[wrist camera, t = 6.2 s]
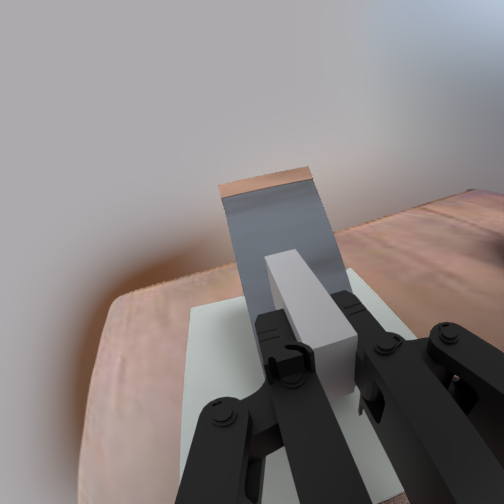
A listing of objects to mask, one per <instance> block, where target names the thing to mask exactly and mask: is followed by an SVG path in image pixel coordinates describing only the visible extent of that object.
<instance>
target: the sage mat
mask: <svg viewBox="0 0 504 504" xmlns="http://www.w3.org/2000/svg"><path fill="white" fill-rule="evenodd" d="M346 272H347V275H348V279H349V282H350V285H351V288H352V291H353V294H354V295H356V296H357V298H358V299H359V300H360V301H361V302H362V304H363V305H364V306H365V307H366V308H367V310H369V312H370V313H371V314H372V315H373V316H374V317H375V319H376V320H377V321H378V322H379V323H380V325H381V326H382V327H383V328H384V329H385V331H386V332H393V333H396V334H399V335H400V336H402V337H403V338H404V339H405V340H415V339H418V338H417V337H416V336H415V335H414V334H413V333H412V332H411V331H410V330H409V328H408V327H407V326H406V325H405V324H404V323H403V322H402V321H401V320H400V319H399V317H398V316H397V315H396V314H395V313H394V312H393V311H392V310H391V309H390V308H389V307H388V306H387V305H386V304H385V303H384V301H383V300H382V299H381V298H380V297H379V296H378V295H377V294H376V293H375V292H374V291H373V290H372V289H371V288H370V287H369V286H368V285H367V284H366V283H365V282H364V281H363V280H362V279H361V278H360V277H359V276H358V275H357V274H356V273H355V272H354V271H353V270H352V269H351V268H349V269H346ZM264 381H265V378H264V374H263V370H262V366H261V362H260V358H259V354H258V350H257V346H256V342H255V338H254V333H253V329H252V325H251V321H250V317H249V313H248V309H247V304H246V300H245V296H241V297H237V298H233V299H228V300H224V301H220V302H215V303H211V304H206V305H202V306H197V307H193V308H191V315H190V324H189V333H188V343H187V353H186V364H185V376H184V389H183V403H182V420H181V441H180V478H179V486H180V482H181V479H182V475H183V472H184V468H185V464H186V461H187V457H188V454H189V450H190V446H191V443H192V439H193V436H194V432H195V429H196V425H197V421H198V418H199V415H200V413H201V411H202V409H203V407H204V406H206V405H207V404H208V403H209V402H210V401H212V400H215V399H217V398H221V397H227V396H228V397H234V398H237V399H239V400H242V399H244V398H246V397H248V396H250V395H252V394H253V393H255V392H256V391H257V390H258V389H259V388H260V387H261V386H262V385H263V383H264ZM359 400H360V391H359V389H358V387H357V386H356V387H355V390H354V393H351V394H348V395H345V396H343V397H340V398H337V399H334V400H331V401H329V403H330V405H331V407H332V410H333V412H334V414H335V417H336V419H337V421H338V423H339V426H340V428H341V430H342V433H343V435H344V437H345V440H346V442H347V444H348V447H349V449H350V451H351V454H352V456H353V458H354V461H355V463H356V465H357V468H358V470H359V472H360V475H361V477H362V479H363V482H364V484H365V486H366V489H367V491H368V493H369V496H370V498H371V501H372V503H373V504H379V503H381V502H383V501H385V500H388V499H390V498H392V497H394V496H396V495H398V494H400V493H402V492H404V489H403V487H402V485H401V483H400V481H399V479H398V477H397V475H396V473H395V470H394V468H393V466H392V464H391V462H390V460H389V458H388V456H387V454H386V452H385V450H384V448H383V446H382V444H381V442H380V440H379V439H378V437H377V435H376V433H375V431H374V429H373V427H372V425H371V423H370V421H369V419H368V417H367V415H366V413H365V411H364V409H363V413H362V415H360V416H359V413H358V407H359ZM261 504H300V502H299V499H298V495H297V492H296V488H295V484H294V480H293V477H292V473H291V469H290V466H289V462H288V458H287V454H286V450H285V447H282V448H280V449H278V450H276V451H275V452H273V453H271V454H269V455H267V456H266V463H265V473H264V483H263V492H262V502H261Z"/></svg>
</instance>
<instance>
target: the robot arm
mask: <svg viewBox="0 0 504 504" xmlns="http://www.w3.org/2000/svg"><path fill="white" fill-rule="evenodd" d="M265 262H266V267H267V272H268V277H269V282H270V287H271V292H272V297H273V302H274V306H275V308H276V310H275V311H271V312H267V313H263V314H259V315H258V316H257V318H256V321H255V324H254V325H255V329H256V333H257V338H258V342H259V346H260V350H261V354H262V358H263V366H264V370H265V373H266V378H265V381H264V383H263V385H262V386H261V387H260V388H259V389H258V390H257V391H256V392H255V393H253V394H252V395H250V396H248V397H246V398H244V399H242V400H239V399H237V398H234V397H228V396H227V397H221V398H217V399H215V400H212V401H210V402H209V403H208V404H207V405H206V406H204V407H203V409H202V411H201V413H200V415H199V418H198V421H197V425H196V429H195V432H194V436H193V439H192V443H191V446H190V450H189V454H188V457H187V461H186V464H185V468H184V472H183V475H182V479H181V482H180V486H179V490H178V493H177V497H176V501H175V504H261V502H262V492H263V483H264V473H265V463H266V456H267V455H269V454H271V453H273V452H275V451H276V450H278V449H280V448H282V447H285V450H286V454H287V458H288V462H289V466H290V469H291V473H292V477H293V480H294V484H295V488H296V492H297V495H298V499H299V502H300V504H373V503H372V501H371V498H370V496H369V493H368V491H367V489H366V486H365V484H364V482H363V479H362V477H361V475H360V472H359V470H358V468H357V465H356V463H355V461H354V458H353V456H352V454H351V451H350V449H349V447H348V444H347V442H346V440H345V437H344V435H343V433H342V430H341V428H340V426H339V423H338V421H337V419H336V417H335V414H334V412H333V410H332V407H331V405H330V403H329V401H331V400H334V399H337V398H340V397H343V396H345V395H348V394H351V393H354V390H355V383H356V385H357V387H358V389H359V391H360V400H359V407H358V413H359V416H360V415H362V413H363V409H364V411H365V413H366V415H367V417H368V419H369V421H370V423H371V425H372V427H373V429H374V431H375V433H376V435H377V437H378V439H379V440H380V442H381V444H382V446H383V448H384V450H385V452H386V454H387V456H388V458H389V460H390V462H391V464H392V466H393V468H394V470H395V473H396V475H397V477H398V479H399V481H400V483H401V485H402V487H403V489H404V491H405V493H406V495H407V497H408V499H409V501H410V504H504V353H503V352H502V351H500V350H499V349H497V348H495V347H494V346H492V345H491V344H489V343H487V342H486V341H484V340H483V339H481V338H479V337H478V336H476V335H475V334H473V333H471V332H470V331H468V330H466V329H465V328H463V327H461V326H460V325H457V324H455V323H450V322H444V323H439V324H437V325H435V326H434V327H433V328H432V330H431V331H430V335H429V337H427V338H421V339H415V340H405V339H404V338H403V337H402V336H400V335H399V334H396V333H393V332H386V331H385V329H384V328H383V327H382V326H381V325H380V323H379V322H378V321H377V320H376V319H375V317H374V316H373V315H372V314H371V313H370V312H369V310H367V308H366V307H365V306H364V305H363V304H362V302H361V301H360V300H359V299H358V298H357V296H356V295H354V294H352V293H350V292H348V291H346V290H343V291H340V292H336V293H333V294H330V295H329V294H328V292H327V291H326V290H325V288H324V287H323V285H322V284H321V283H320V281H319V280H318V279H317V277H316V276H315V275H314V273H313V272H312V271H311V269H310V268H309V267H308V265H307V264H306V263H305V261H304V260H303V259H302V257H301V256H300V255H299V253H298V252H297V251H296V249H293V250H289V251H285V252H281V253H277V254H273V255H269V256H265ZM454 374H455V375H457V376H458V377H459V378H456V377H454Z"/></svg>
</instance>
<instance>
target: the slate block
mask: <svg viewBox="0 0 504 504" xmlns="http://www.w3.org/2000/svg"><path fill="white" fill-rule="evenodd" d="M219 190H220V195H221V199H222V203H223V206H224V209H225V213H226V218H227V222H228V227H229V231H230V235H231V240H232V244H233V248H234V253H235V257H236V262H237V266H238V271H239V275H240V279H241V283H242V288H243V292H244V296H245V300H246V304H247V309H248V313H249V317H250V321H251V325H252V329H253V333H254V338H255V342H256V346H257V350H258V354H259V358H260V362H261V366H262V370H263V374H264V378H266V373H265V370H264V366H263V358H262V354H261V350H260V346H259V342H258V338H257V333H256V329H255V325H254V324H255V321H256V318H257V316H258V315H259V314H263V313H267V312H271V311H275V310H276V308H275V306H274V302H273V297H272V292H271V287H270V282H269V277H268V272H267V267H266V262H265V256H269V255H273V254H277V253H281V252H285V251H289V250H293V249H296V251H297V252H298V253H299V255H300V256H301V257H302V259H303V260H304V261H305V263H306V264H307V265H308V267H309V268H310V269H311V271H312V272H313V273H314V275H315V276H316V277H317V279H318V280H319V281H320V283H321V284H322V285H323V287H324V288H325V290H326V291H327V292H328V294H329V295H330V294H333V293H336V292H340V291H343V290H346V291H348V292H350V293H352V294H353V291H352V288H351V285H350V282H349V279H348V275H347V272H346V269H345V266H344V263H343V260H342V257H341V254H340V251H339V248H338V245H337V242H336V240H335V237H334V234H333V231H332V228H331V226H330V223H329V220H328V218H327V215H326V212H325V210H324V207H323V204H322V202H321V199H320V197H319V194H318V192H317V189H316V187H315V184H314V182H313V177H312V174H311V172H310V169H309V167H303V168H297V169H292V170H286V171H281V172H276V173H272V174H266V175H262V176H257V177H253V178H248V179H243V180H239V181H235V182H231V183H226V184H222V185H219ZM356 386H357V385H356V383H355V387H356Z"/></svg>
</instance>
